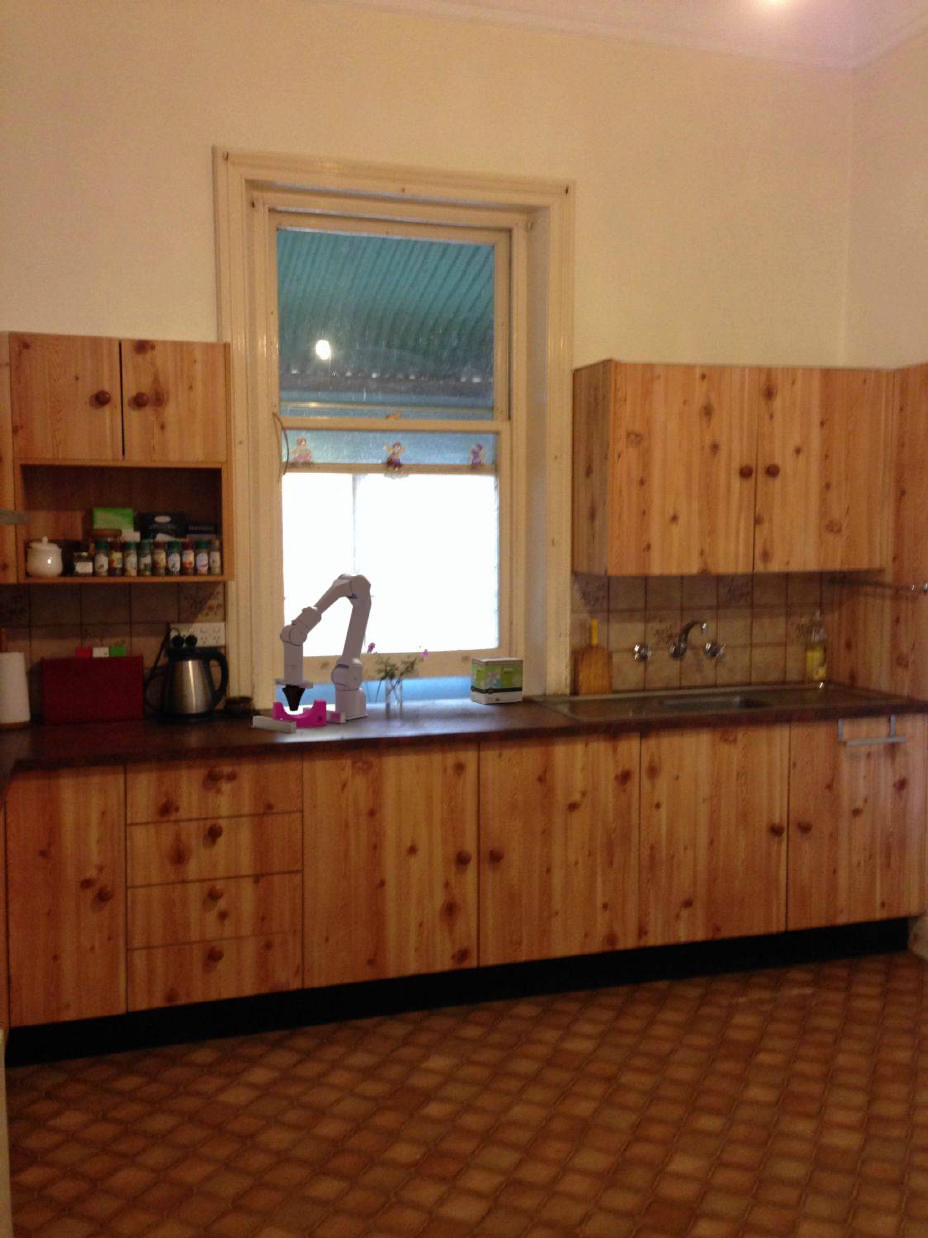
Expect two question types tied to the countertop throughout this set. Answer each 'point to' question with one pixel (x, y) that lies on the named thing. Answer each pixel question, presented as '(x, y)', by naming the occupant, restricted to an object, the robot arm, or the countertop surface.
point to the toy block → (303, 714)
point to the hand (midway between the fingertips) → (293, 710)
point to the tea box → (496, 680)
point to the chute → (292, 722)
